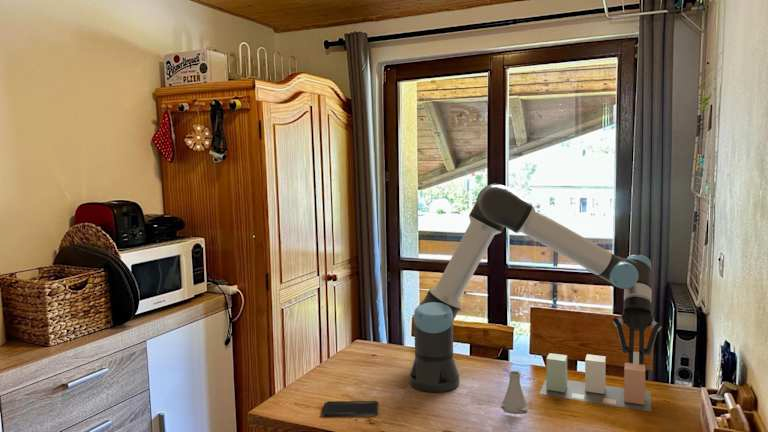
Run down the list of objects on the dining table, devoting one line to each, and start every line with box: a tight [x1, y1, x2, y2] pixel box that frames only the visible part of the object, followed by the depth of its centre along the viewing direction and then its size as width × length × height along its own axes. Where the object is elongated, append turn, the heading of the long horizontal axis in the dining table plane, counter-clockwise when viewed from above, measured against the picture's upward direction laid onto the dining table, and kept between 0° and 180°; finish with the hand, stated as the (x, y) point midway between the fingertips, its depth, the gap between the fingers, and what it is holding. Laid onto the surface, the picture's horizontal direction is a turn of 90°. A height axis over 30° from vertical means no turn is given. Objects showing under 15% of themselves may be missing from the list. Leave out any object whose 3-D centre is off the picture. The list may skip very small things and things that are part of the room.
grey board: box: [539, 378, 652, 412], centre depth 146 cm, size 28×13×2 cm, turn 64°
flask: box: [500, 370, 528, 415], centre depth 141 cm, size 7×7×10 cm
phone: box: [321, 400, 379, 418], centre depth 142 cm, size 8×1×15 cm
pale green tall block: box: [545, 352, 568, 392], centre depth 149 cm, size 5×5×9 cm
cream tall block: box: [584, 353, 607, 394], centre depth 147 cm, size 5×5×9 cm
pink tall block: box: [623, 362, 646, 405], centre depth 140 cm, size 5×5×9 cm
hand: (635, 375), depth 144 cm, fingers closed
